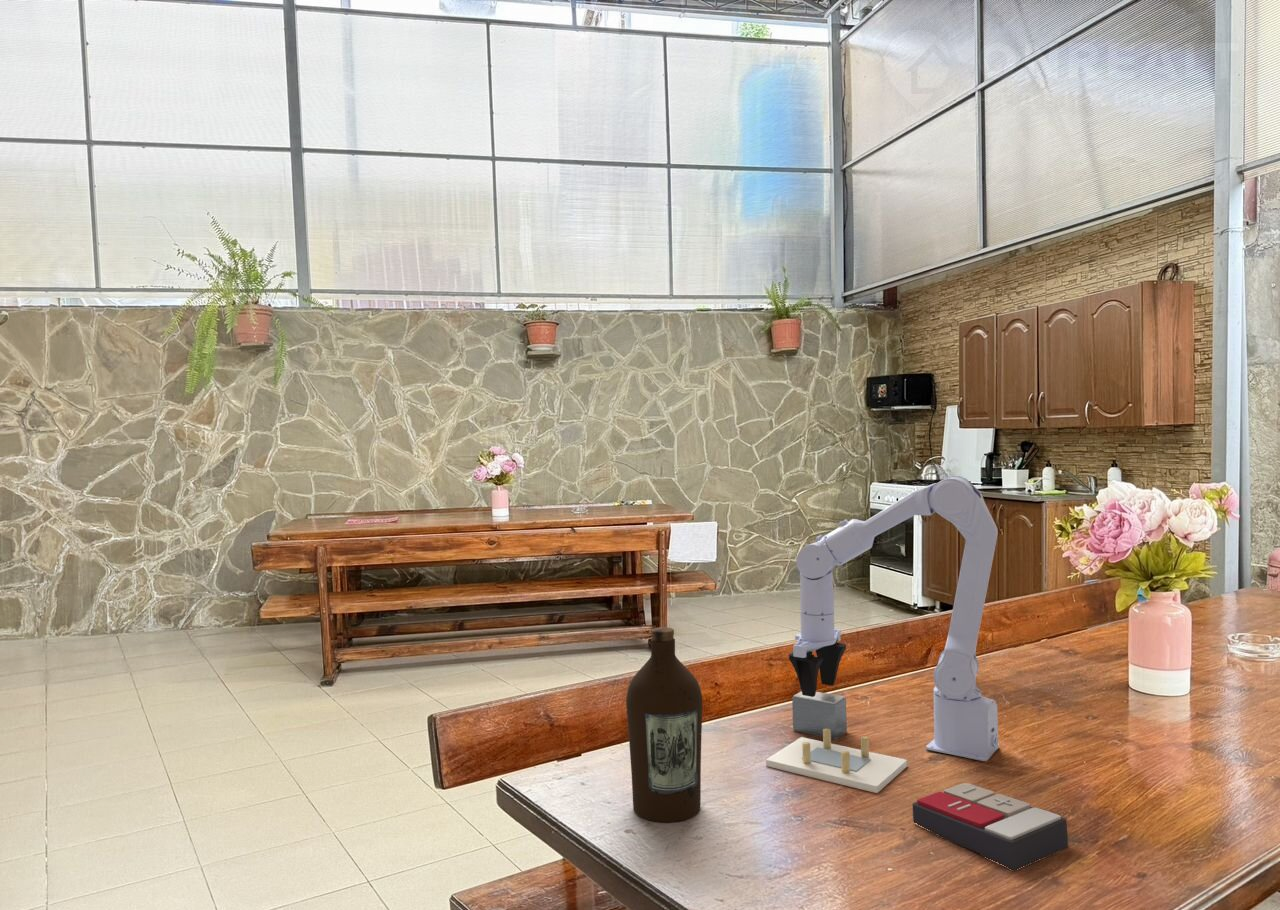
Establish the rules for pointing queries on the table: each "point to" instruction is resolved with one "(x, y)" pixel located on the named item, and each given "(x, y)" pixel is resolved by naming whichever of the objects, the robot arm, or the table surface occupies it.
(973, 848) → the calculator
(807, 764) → the cream pegged board
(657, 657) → the olive oil
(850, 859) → the table surface
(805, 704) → the block
